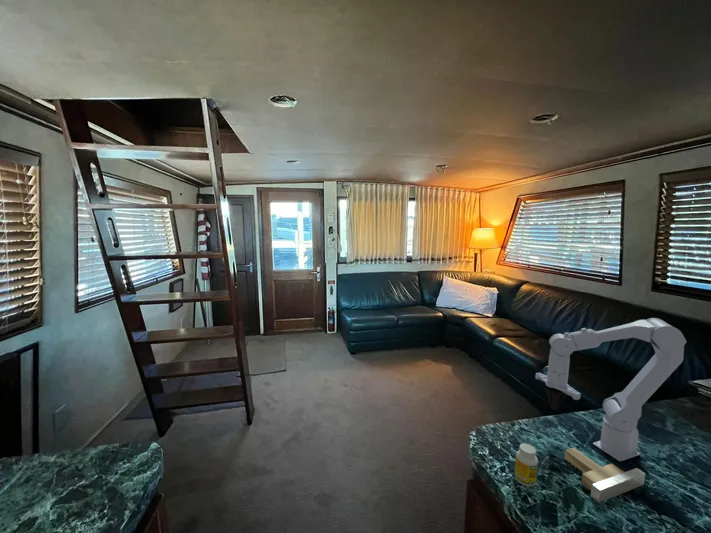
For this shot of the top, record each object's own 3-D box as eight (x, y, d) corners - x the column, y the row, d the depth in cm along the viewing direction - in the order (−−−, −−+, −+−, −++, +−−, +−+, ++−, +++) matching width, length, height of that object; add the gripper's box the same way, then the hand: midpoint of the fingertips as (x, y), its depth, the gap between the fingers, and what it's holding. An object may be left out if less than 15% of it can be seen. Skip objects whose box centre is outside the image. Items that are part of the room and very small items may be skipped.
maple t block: (582, 453, 95) (583, 444, 95) (624, 482, 85) (625, 472, 84) (554, 462, 92) (555, 453, 91) (594, 493, 81) (595, 483, 80)
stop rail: (635, 479, 86) (636, 467, 85) (643, 484, 84) (645, 473, 83) (590, 496, 80) (591, 484, 80) (598, 502, 78) (600, 490, 78)
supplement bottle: (520, 469, 89) (523, 438, 88) (539, 481, 84) (543, 450, 83) (510, 477, 86) (513, 446, 85) (529, 490, 81) (532, 458, 80)
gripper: (530, 362, 107) (526, 398, 109) (570, 382, 93) (566, 423, 95) (545, 360, 109) (541, 395, 111) (587, 379, 96) (582, 419, 97)
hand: (554, 408), depth 103 cm, fingers closed
